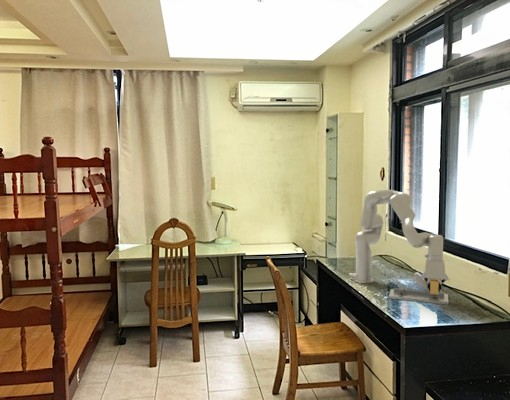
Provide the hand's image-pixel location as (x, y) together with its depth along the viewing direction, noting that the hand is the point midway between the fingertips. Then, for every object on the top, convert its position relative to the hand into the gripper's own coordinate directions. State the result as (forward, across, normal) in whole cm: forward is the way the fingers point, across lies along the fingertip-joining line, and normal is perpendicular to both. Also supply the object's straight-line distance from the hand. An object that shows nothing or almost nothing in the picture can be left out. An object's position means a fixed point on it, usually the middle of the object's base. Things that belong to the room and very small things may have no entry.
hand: (434, 290), depth 238 cm
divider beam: (+3, -8, 0) cm, 9 cm away
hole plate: (+5, -8, -1) cm, 9 cm away
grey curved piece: (+5, -6, +21) cm, 23 cm away
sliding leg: (+3, 0, 0) cm, 3 cm away
